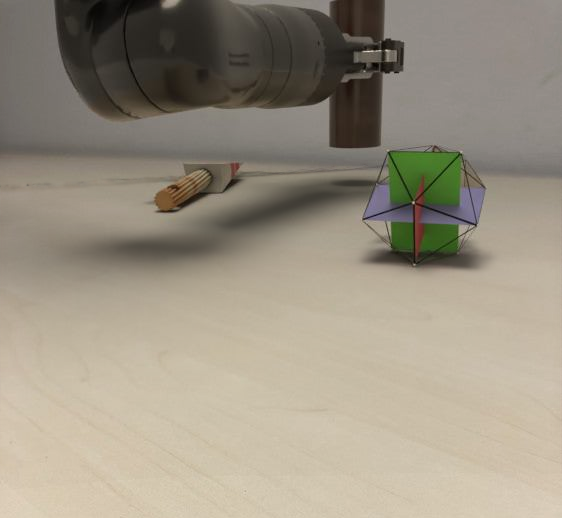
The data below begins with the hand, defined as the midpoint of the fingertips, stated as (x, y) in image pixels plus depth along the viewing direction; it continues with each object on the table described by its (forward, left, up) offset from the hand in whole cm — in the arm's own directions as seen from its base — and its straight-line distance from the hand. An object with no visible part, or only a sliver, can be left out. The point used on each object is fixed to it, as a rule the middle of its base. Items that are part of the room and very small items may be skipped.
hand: (366, 59), depth 70 cm
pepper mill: (-2, -2, -8) cm, 8 cm away
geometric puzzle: (-9, -33, -12) cm, 36 cm away
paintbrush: (-18, -2, -12) cm, 21 cm away
